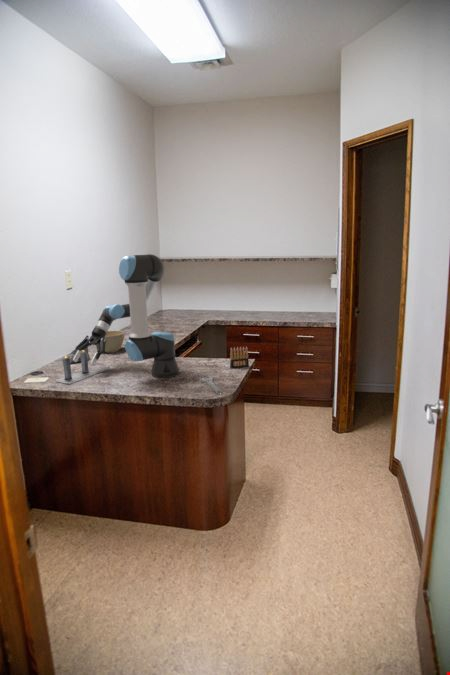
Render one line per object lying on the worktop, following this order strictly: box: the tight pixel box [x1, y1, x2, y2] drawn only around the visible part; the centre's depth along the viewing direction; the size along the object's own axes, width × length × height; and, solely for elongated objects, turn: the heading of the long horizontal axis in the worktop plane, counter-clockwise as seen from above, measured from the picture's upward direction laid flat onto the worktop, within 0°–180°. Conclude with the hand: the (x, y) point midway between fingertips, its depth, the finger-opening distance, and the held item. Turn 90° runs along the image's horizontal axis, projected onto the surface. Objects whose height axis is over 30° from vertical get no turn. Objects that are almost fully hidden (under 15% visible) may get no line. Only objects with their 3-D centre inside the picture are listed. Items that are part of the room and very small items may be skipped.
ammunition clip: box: [229, 345, 250, 370], centre depth 252 cm, size 11×2×12 cm, turn 104°
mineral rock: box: [67, 346, 91, 363], centre depth 275 cm, size 13×11×10 cm
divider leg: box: [80, 350, 89, 372], centre depth 247 cm, size 3×3×12 cm
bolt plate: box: [55, 355, 111, 385], centre depth 246 cm, size 10×30×13 cm, turn 151°
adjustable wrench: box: [201, 375, 223, 395], centre depth 223 cm, size 25×6×2 cm, turn 13°
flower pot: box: [100, 330, 125, 354], centre depth 296 cm, size 18×18×12 cm
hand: (83, 362), depth 246 cm, fingers open, 13 cm apart
